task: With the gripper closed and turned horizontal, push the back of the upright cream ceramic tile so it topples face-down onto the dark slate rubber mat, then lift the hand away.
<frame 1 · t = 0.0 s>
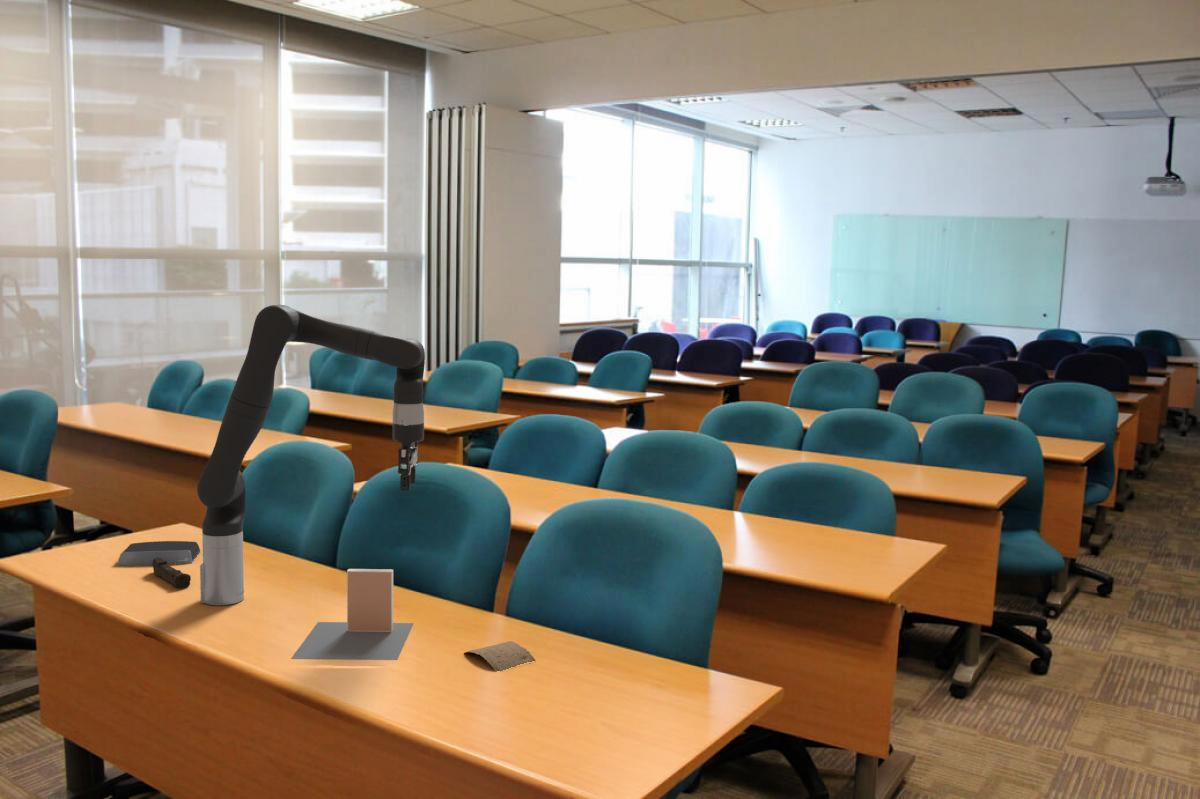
hand: (408, 486, 234), 29 cm above the table, tool pointing down, fingers open, 8 cm apart
tile: (370, 630, 216), resting on mat
clay tablet: (498, 661, 204), on the table
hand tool: (166, 582, 250), on the table
mat: (355, 642, 210), on the table
external hard drive: (160, 560, 269), on the table
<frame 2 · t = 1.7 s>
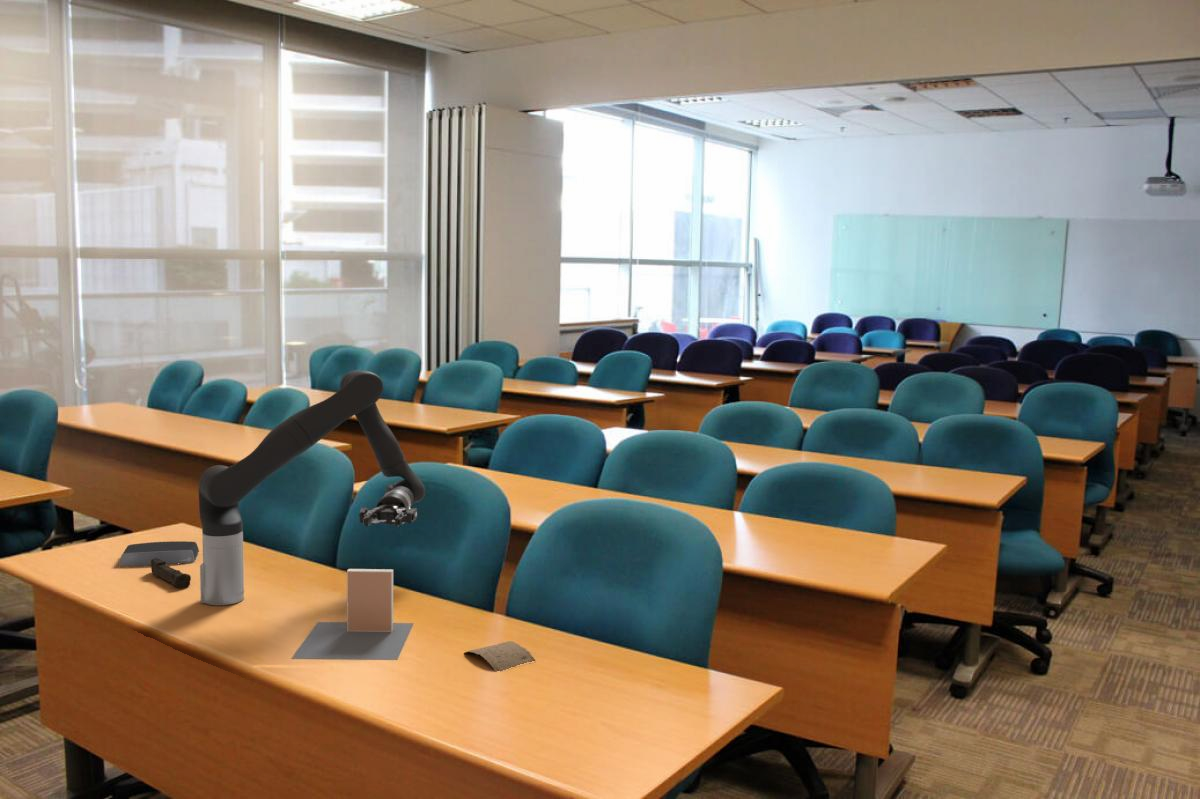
hand: (381, 522, 227), 22 cm above the table, tool horizontal, fingers open, 6 cm apart
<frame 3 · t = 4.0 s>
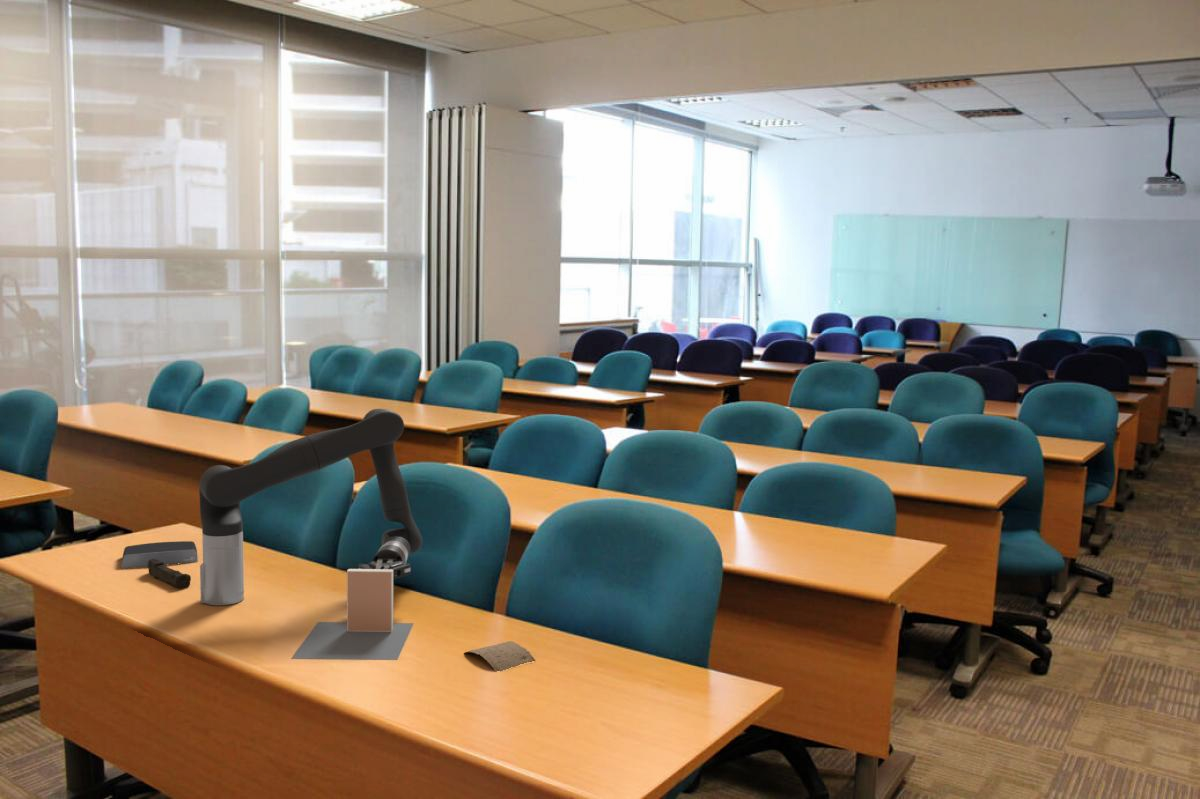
hand: (377, 580, 222), 10 cm above the table, tool horizontal, fingers closed
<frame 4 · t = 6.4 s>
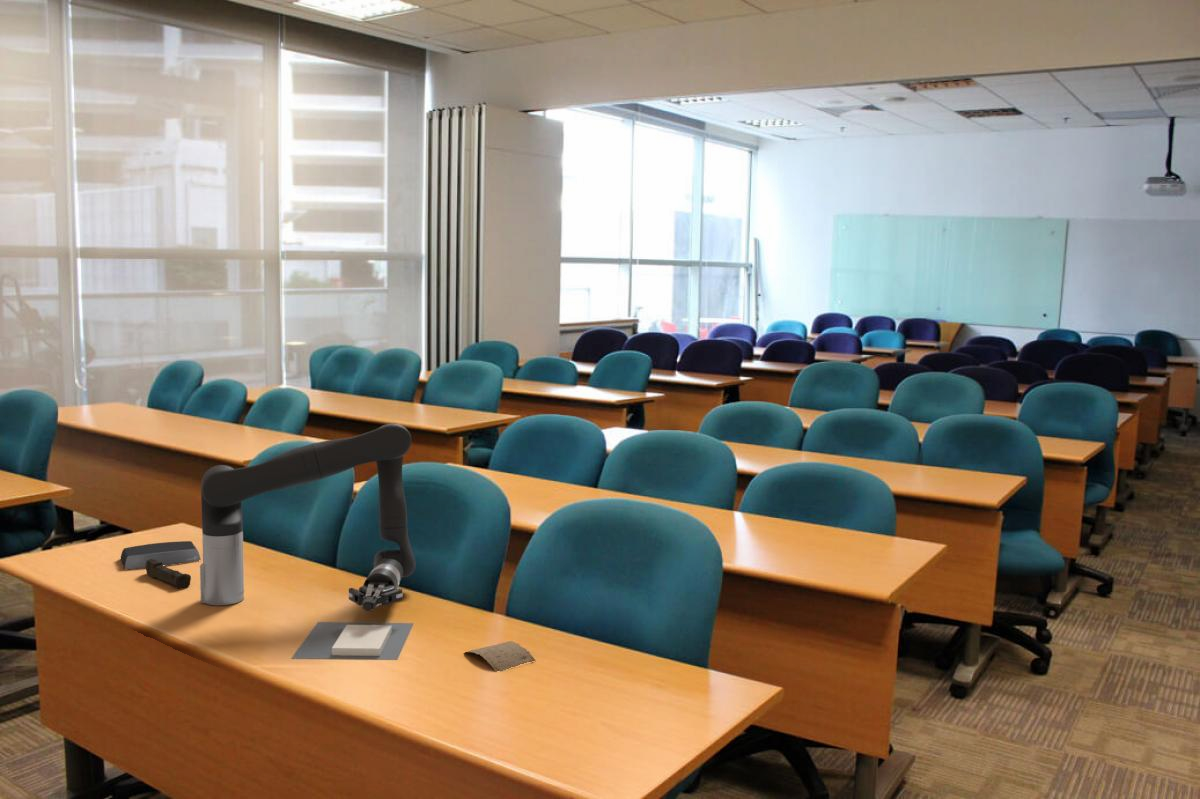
hand: (368, 606, 213), 7 cm above the table, tool horizontal, fingers closed
tile: (369, 628, 215), point 1 cm above the table, tilted 90°, touching mat
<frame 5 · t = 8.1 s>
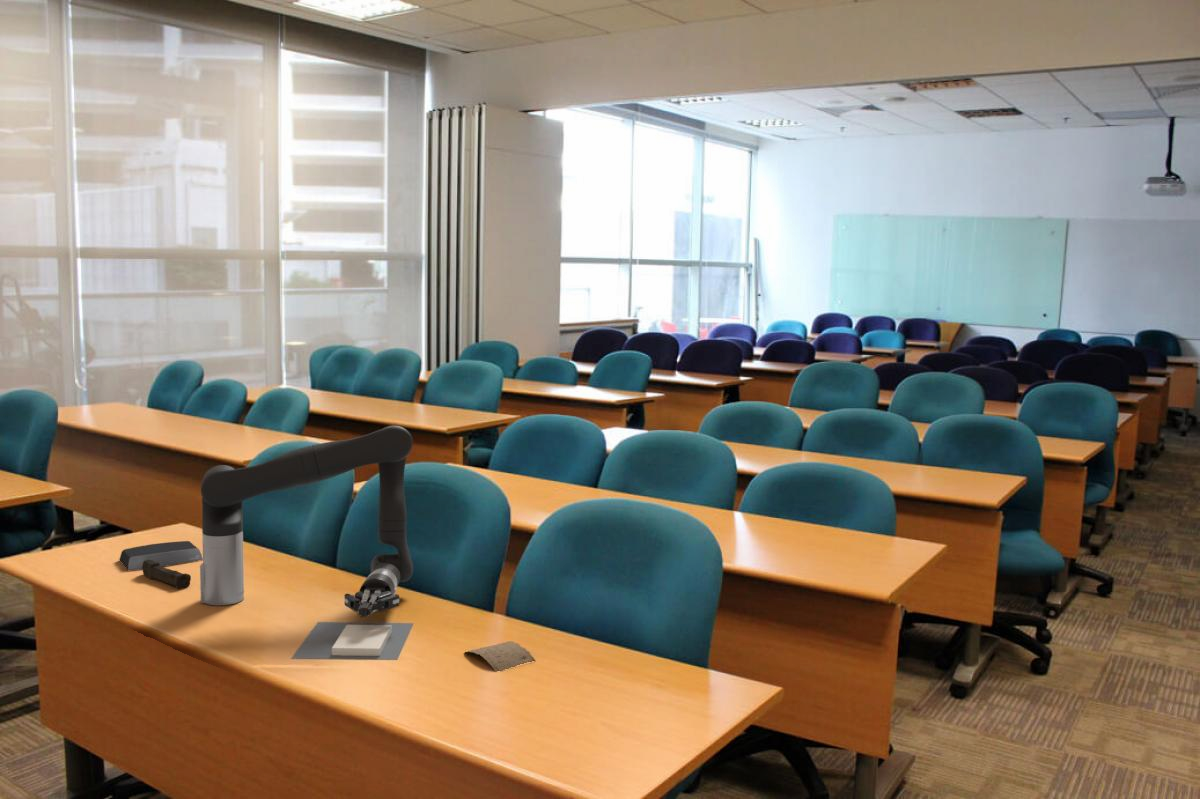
hand: (363, 612, 209), 7 cm above the table, tool horizontal, fingers closed
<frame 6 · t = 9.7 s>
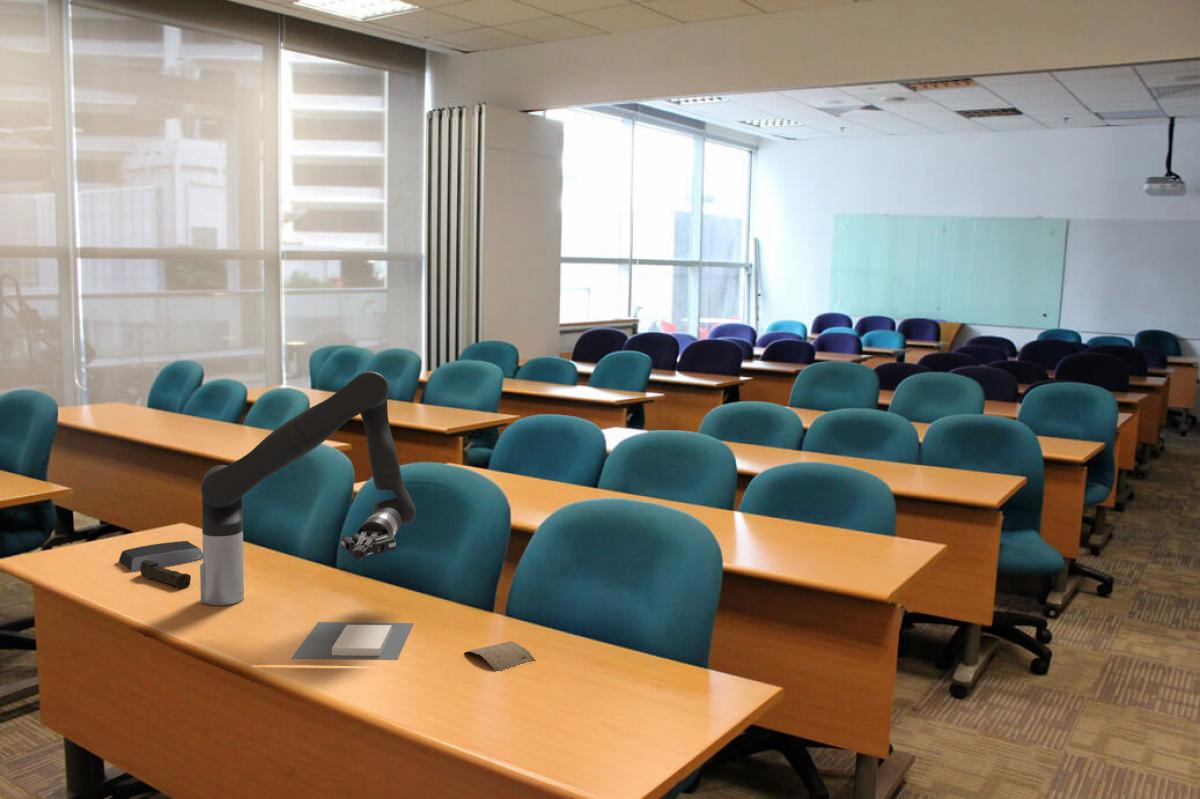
hand: (357, 555, 208), 20 cm above the table, tool horizontal, fingers closed
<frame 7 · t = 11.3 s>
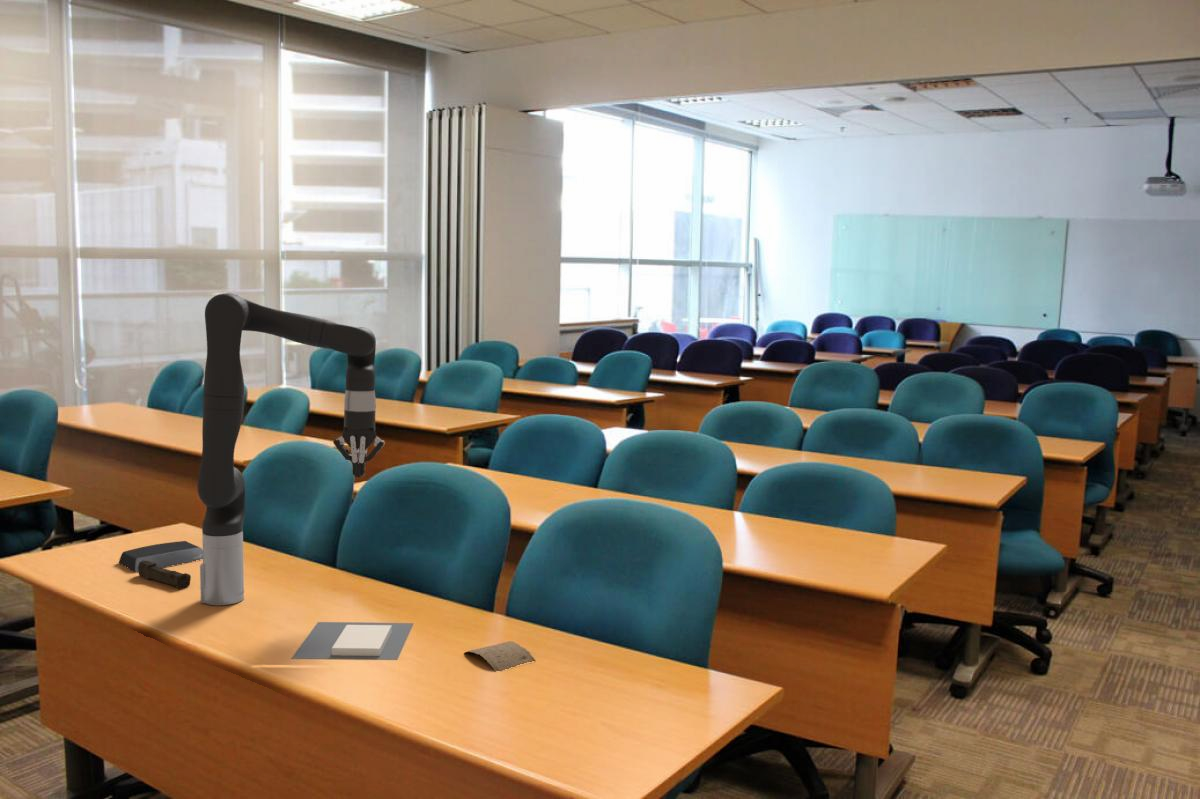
hand: (358, 477, 238), 30 cm above the table, tool pointing down, fingers closed
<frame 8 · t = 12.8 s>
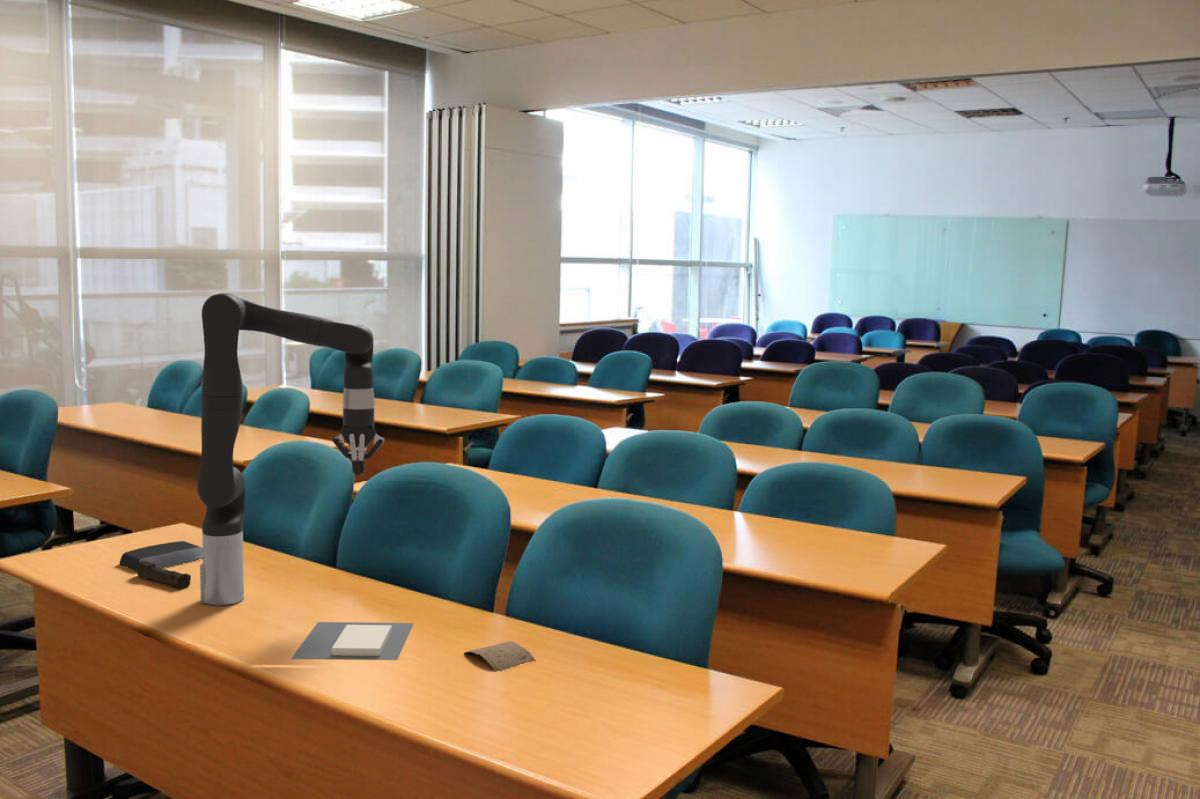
hand: (358, 474, 238), 31 cm above the table, tool pointing down, fingers closed
at the end: tile tilted 90°; tile touching mat; tile inside the target area on the mat (5.8 cm from its centre), point 1.3 cm above the mat's base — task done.
